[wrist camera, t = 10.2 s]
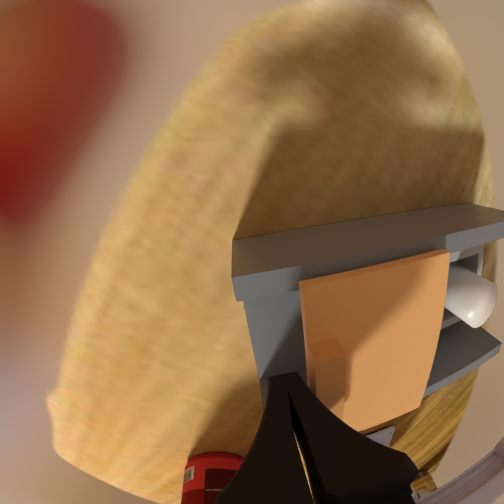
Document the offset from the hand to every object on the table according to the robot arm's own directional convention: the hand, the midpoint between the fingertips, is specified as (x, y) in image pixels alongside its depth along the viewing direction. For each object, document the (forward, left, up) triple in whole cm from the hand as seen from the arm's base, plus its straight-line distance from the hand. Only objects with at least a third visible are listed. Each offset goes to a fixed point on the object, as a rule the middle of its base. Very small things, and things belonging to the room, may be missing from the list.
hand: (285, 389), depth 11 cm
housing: (0, -8, -7) cm, 11 cm away
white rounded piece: (0, -14, -6) cm, 15 cm away
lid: (0, -5, 0) cm, 5 cm away
